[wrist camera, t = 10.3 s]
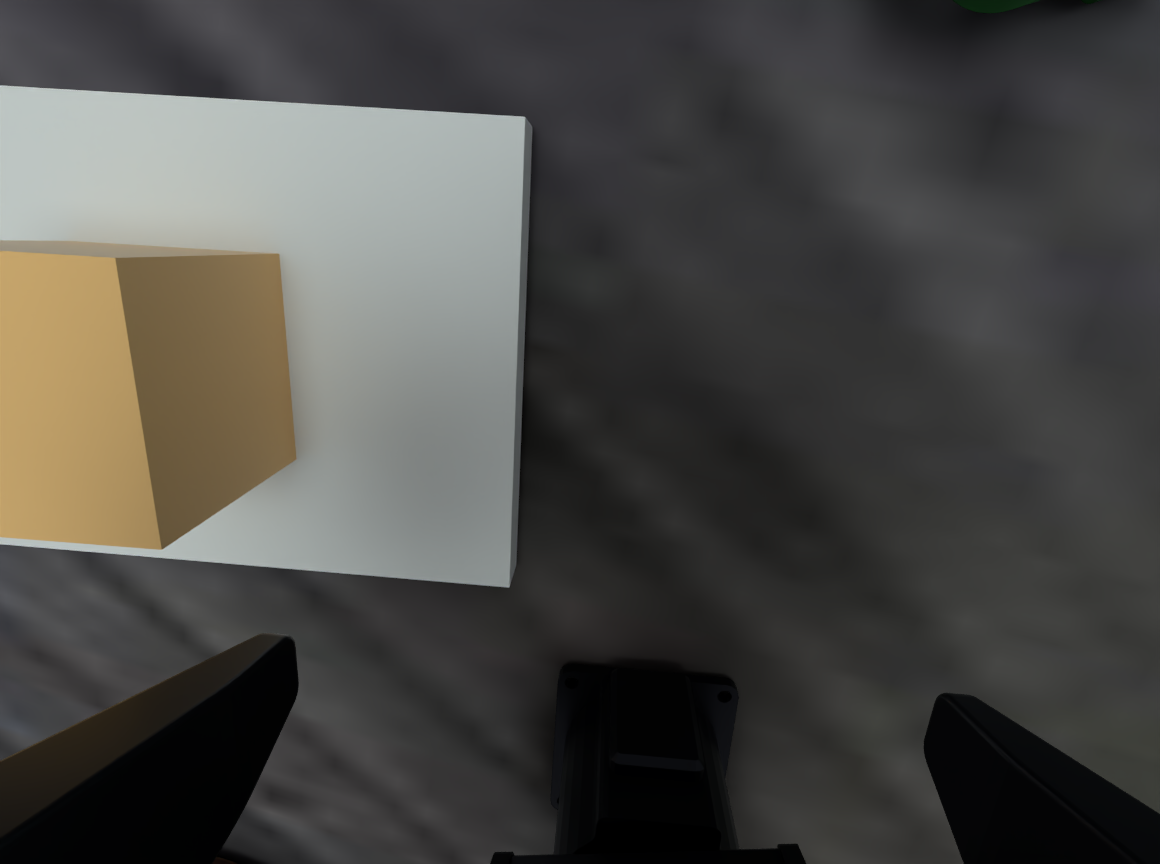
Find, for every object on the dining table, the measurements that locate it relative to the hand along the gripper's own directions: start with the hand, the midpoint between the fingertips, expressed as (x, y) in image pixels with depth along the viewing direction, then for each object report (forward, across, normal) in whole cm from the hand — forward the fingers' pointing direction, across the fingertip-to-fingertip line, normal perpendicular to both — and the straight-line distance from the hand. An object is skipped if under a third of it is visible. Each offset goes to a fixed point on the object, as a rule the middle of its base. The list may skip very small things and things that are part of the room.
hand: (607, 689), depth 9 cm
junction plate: (+12, +13, -2) cm, 18 cm away
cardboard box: (+10, +13, -2) cm, 17 cm away
